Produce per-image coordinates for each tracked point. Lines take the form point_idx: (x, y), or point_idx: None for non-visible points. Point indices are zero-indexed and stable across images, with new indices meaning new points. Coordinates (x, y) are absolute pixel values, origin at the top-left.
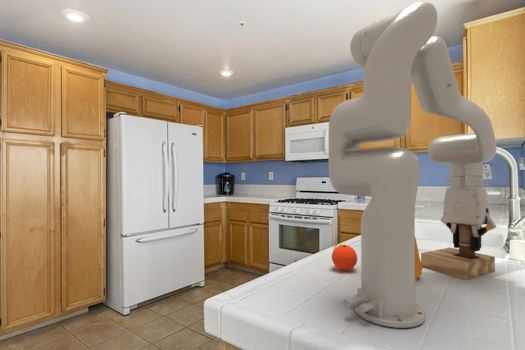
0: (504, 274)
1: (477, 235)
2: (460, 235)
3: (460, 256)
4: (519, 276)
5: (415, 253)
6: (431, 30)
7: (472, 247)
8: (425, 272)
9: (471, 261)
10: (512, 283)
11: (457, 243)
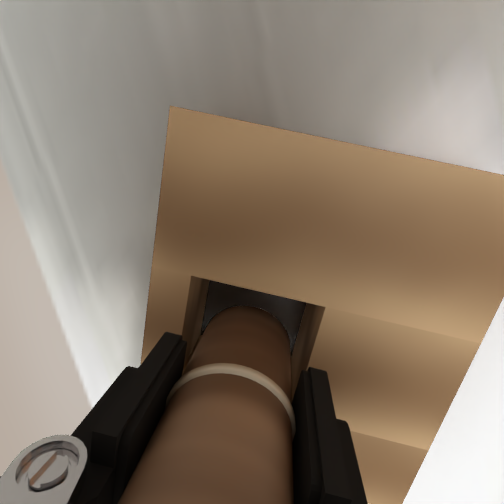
0: (126, 361)
1: (29, 454)
2: (259, 468)
3: (274, 324)
4: (82, 372)
5: None
6: None
7: (161, 347)
8: (420, 78)
9: (170, 217)
10: (58, 246)
11: (301, 403)
